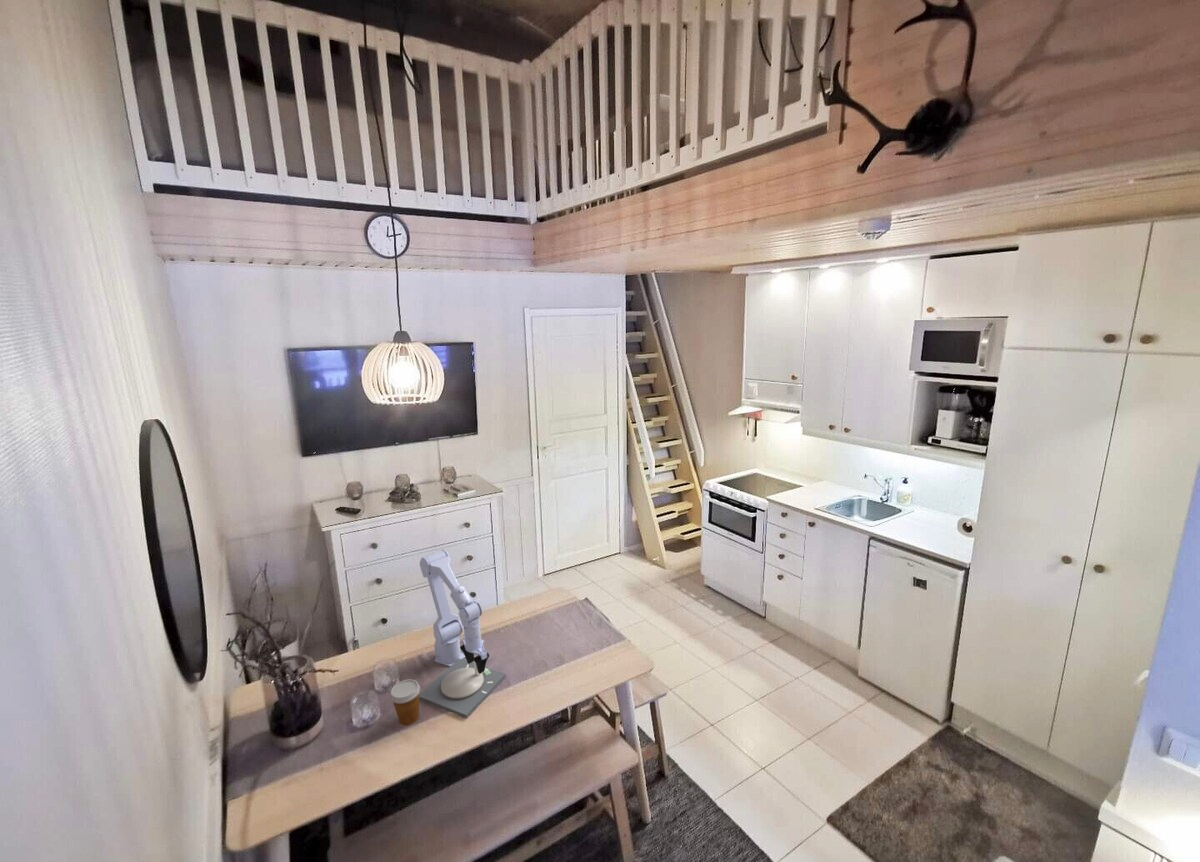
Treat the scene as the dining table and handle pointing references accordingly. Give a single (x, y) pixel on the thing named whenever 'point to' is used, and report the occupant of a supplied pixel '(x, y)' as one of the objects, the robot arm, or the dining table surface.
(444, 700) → the tuner board
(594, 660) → the dining table surface
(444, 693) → the beige oval dome
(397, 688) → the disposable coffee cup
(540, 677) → the dining table surface
